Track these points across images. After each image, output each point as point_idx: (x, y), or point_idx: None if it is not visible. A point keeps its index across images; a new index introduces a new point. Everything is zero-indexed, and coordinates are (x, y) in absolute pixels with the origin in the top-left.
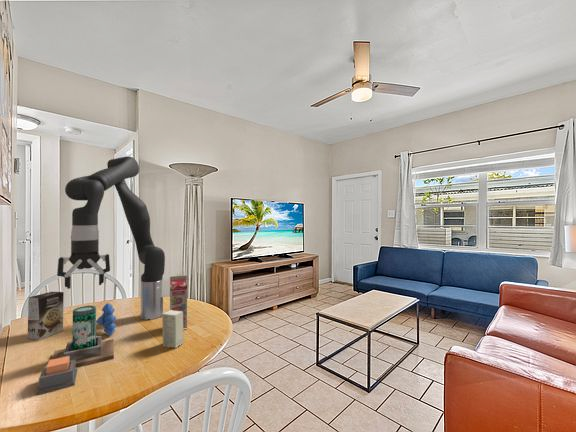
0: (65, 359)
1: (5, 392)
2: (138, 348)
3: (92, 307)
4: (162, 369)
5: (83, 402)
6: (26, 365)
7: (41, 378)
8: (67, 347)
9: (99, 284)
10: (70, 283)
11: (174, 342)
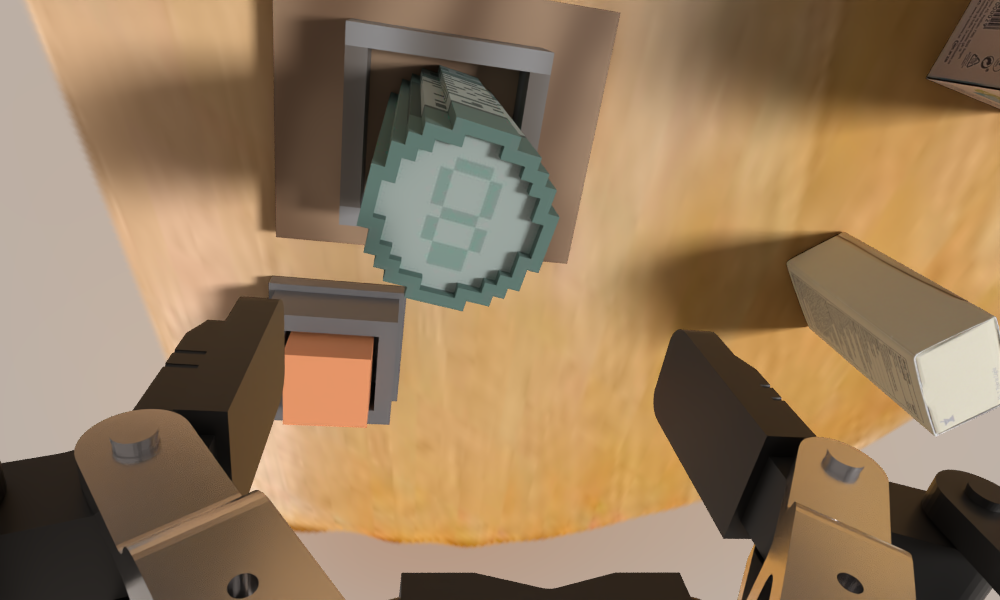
0: (354, 389)
1: (146, 298)
2: (690, 211)
3: (528, 192)
4: None
5: (423, 503)
6: (143, 29)
7: (276, 418)
8: (351, 133)
9: (660, 415)
10: (267, 361)
11: (824, 337)
